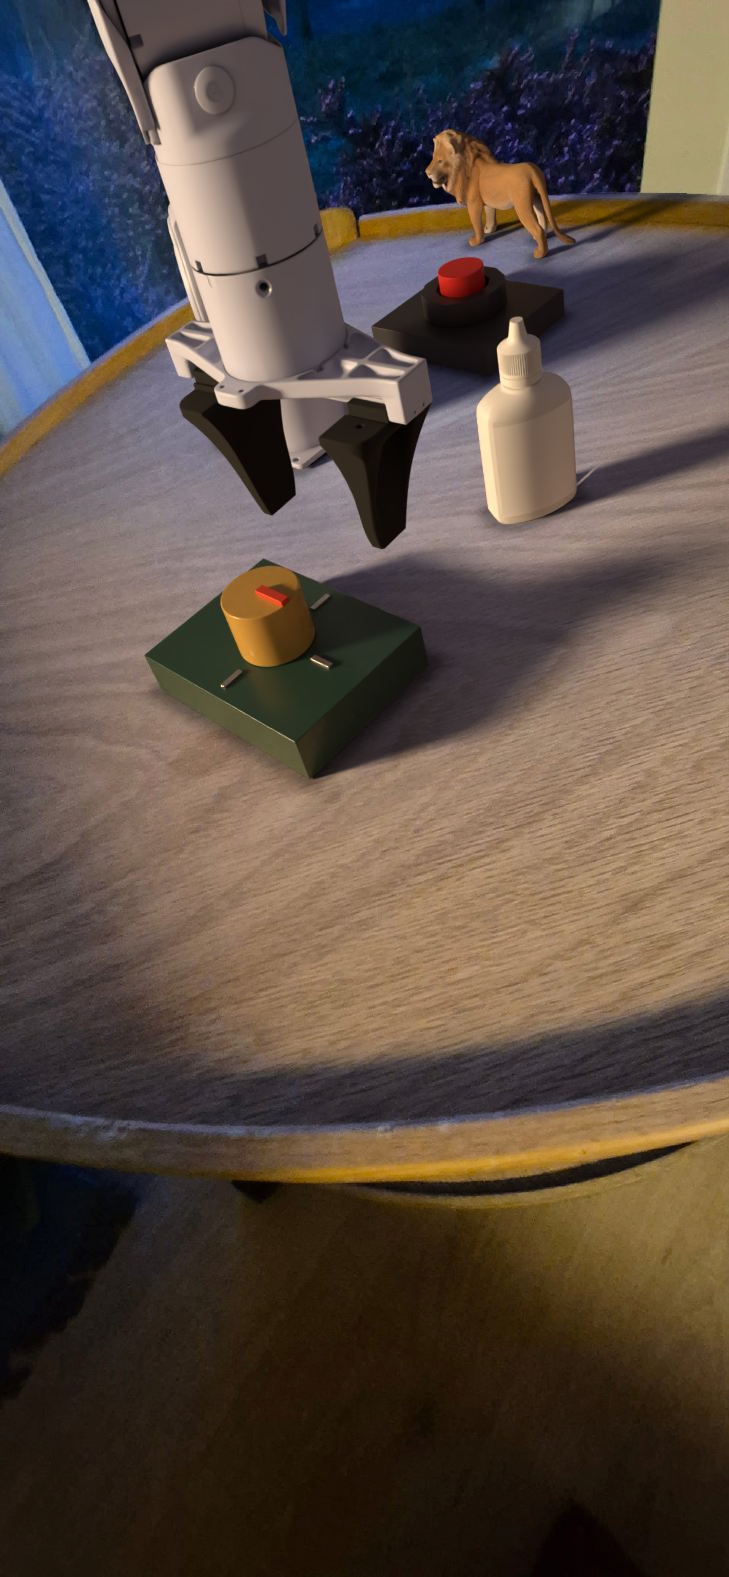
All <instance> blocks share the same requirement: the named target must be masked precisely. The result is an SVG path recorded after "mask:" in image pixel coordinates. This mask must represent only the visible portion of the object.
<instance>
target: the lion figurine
mask: <svg viewBox="0 0 729 1577" xmlns="http://www.w3.org/2000/svg"><path fill="white" fill-rule="evenodd" d="M432 140H433V143H434V149H433V153H432V160H431V162H430V164H429V165H427V167H426V169H425V173H426V175H427V177H428V179H431V181H432V182H431V183H432V185H433V188H435V189H439V188H441V187H442V188H443V190H444V191H445V192H446V193H448V194H450V195H452V196H453V197H455V199H456V203H457V204H458V205H460V206H465V207H467V212H468V215H469V219H470V223H471V224H472V227H473V230H474V233H475V235H474V236H471V237H470V238H469V241H468V244H469V245H470V246H471V247H476V246H477V247H478V246H479V245H481V244H483V243H484V242H485V240H486V239H485V238H486V234H490V233H494V232H495V231H496V230H497V228H498V227H497V226H498V224H497V210H501V211H508V210H511V209H514V210H515V213H516V216H517V217H518V220H519V221H520V222H521V225H522V226H523V227H524V228H525V230H527V232H529V234H531V236H532V237H533V239H534V240H535V241H536V242H537V246H536V247H534V250H533V257H534V259H542V258H544V257H545V256H546V255H547V254H548V252H549V244H548V239H547V236H548V226H549V225H550V227H551V229H552V232H553V233H554V235H555V236H556V237H557V238H558V239H559V240H560V242H561V243H563V244H564V245H565V246H573V245H575V244H576V243H577V240H576V239H575V238H574V237H572V236H570V235H569V234H566V233H564V232H563V231H562V230H560V228H559V226H558V224H557V222H556V219H555V216H554V213H553V210H552V205H551V202H550V197H549V194H548V191H547V190H548V189H547V182H546V176H545V174H544V173H543V171H542V169H541V168H540V167H539V166H537V165H536V164H535V163H533V162H530V161H525V162H520V163H506V162H503V161H499V160H498V159H497V158H496V157H495V155H494V154H493V153H492V151H491V149H490V148H489V147H488V145H486V144H485V143H484V142H483V141H482V140H478V139H477V137H476V136H475V135H472V134H470V133H468V132H464V131H462V129H459V130H458V129H457V130H456V129H455V128H448V129H445V130H443V131H441V132H440V133H439V134H437V135H435V137H434V138H433V139H432ZM483 212H485V224H484V223H483V218H482V217H483ZM548 222H549V224H548Z"/></svg>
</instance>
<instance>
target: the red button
mask: <svg viewBox="0 0 729 1577" xmlns="http://www.w3.org/2000/svg"><path fill="white" fill-rule="evenodd" d="M484 266H485V265H484V262H483V259H481V258H479V257H475V256H464V257H459V258H454V259H452V260H449V261H447V262H445V263H444V264H442V265H441V266H440V267H439V268H438V270H437V276H438V279H439V286H440V293H441V296H442V297H448V298H458V297H466V296H468V295H471V294H474V293H477V292H479V291H481V290H482V289H483V288H485V286H486V283H485V273H484Z"/></svg>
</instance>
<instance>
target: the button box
mask: <svg viewBox="0 0 729 1577" xmlns="http://www.w3.org/2000/svg"><path fill="white" fill-rule="evenodd" d="M484 273H485V283H486V286H485V288H483V289H482V290H481V291H479V292H477V293H474V294H471V295H468V296H466V297H458V298H448V297H442V296H441V293H440V286H439V279H438V275H437V276H435V277H434V278H432V279H431V280H430V281H428V282H427V283H425V284H424V286H423V288H422V289H420V290H419V291H418V292H416V293H415V294H414V295H412V296H411V297H409V298H408V299H407V300H405V301H404V302H403V303H401V304H400V305H398V306H397V307H396V308H394V309H393V310H391V311H390V312H389V313H388V314H386V315H384V316H383V317H382V318H380V319H379V320H378V321H377V322H375V323H374V324H372V325H371V333H372V337H373V338H374V339H376V340H378V341H380V342H382V343H384V344H385V345H387V346H389V347H391V348H393V349H395V350H397V351H399V352H401V353H404V354H408V355H411V356H415V357H420V358H425V359H426V362H427V365H429V364H430V365H434V366H437V367H441V368H442V367H443V368H446V369H451V370H456V371H460V372H464V373H469V374H473V375H478V376H482V377H486V378H487V377H488V378H490V377H492V376H493V375H494V374H496V373H497V372H498V371H499V364H498V354H497V347H498V345H499V344H500V343H501V342H502V341H503V340H504V339H506V338H508V335H509V325H510V320H511V319H512V318H514V317H522V318H523V322H524V326H525V329H526V332H527V334H531V335H534V336H536V337H537V338H538V339H539V338H540V337H541V336H543V335H544V334H545V333H546V332H547V331H548V330H550V329H551V328H552V327H553V326H554V325H556V324H557V323H558V322H559V321H561V320H562V319H563V318H564V317H565V316H566V312H565V311H566V310H565V291H564V288H562V287H561V288H560V287H554V286H547V285H541V284H534V283H529V282H528V283H527V282H522V281H514V280H509V279H506V275H505V274H504V273H503V272H502V271H500V270H499V269H498V268H497V267H494V266H486V265H484Z"/></svg>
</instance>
